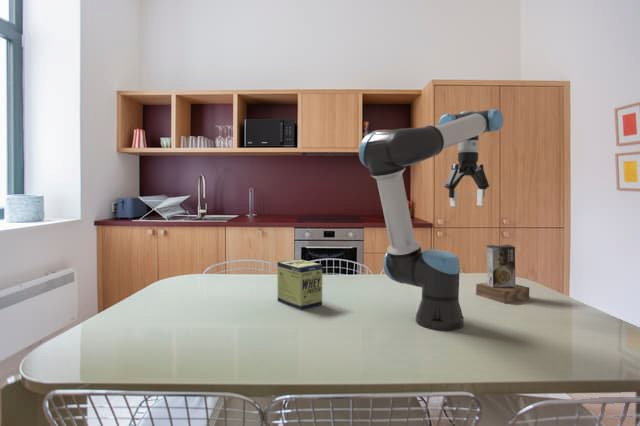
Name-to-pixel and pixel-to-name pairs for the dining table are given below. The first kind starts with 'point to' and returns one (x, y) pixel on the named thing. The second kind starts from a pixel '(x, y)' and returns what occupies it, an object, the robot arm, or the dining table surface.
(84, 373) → the dining table surface
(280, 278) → the protein box
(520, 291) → the walnut riser block
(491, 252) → the coffee box
